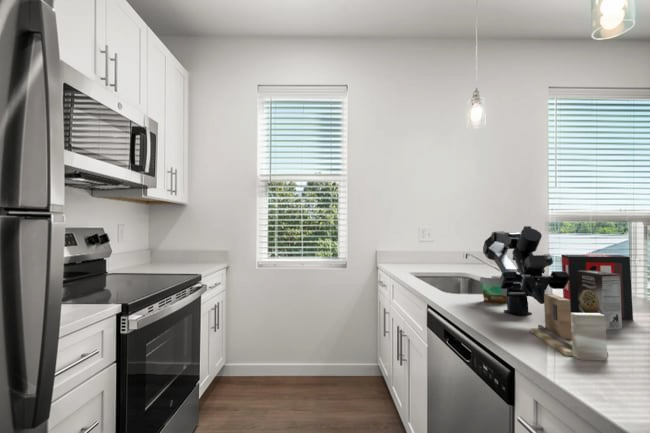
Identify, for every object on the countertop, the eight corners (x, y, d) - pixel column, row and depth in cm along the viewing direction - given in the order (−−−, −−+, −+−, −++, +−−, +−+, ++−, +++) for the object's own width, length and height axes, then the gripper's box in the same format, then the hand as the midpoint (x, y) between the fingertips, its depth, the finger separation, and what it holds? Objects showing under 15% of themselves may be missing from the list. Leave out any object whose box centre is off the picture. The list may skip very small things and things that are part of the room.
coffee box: (578, 322, 113) (575, 270, 113) (597, 321, 113) (594, 269, 114) (603, 330, 104) (600, 274, 104) (623, 329, 104) (620, 273, 105)
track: (531, 331, 104) (529, 296, 104) (565, 332, 102) (563, 297, 103) (571, 359, 82) (569, 315, 82) (614, 360, 81) (612, 315, 81)
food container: (484, 304, 142) (483, 278, 142) (480, 300, 148) (479, 276, 148) (517, 304, 140) (516, 278, 140) (512, 301, 146) (511, 276, 146)
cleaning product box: (571, 317, 119) (568, 256, 120) (564, 311, 127) (561, 254, 128) (633, 320, 113) (629, 256, 114) (620, 314, 122) (617, 254, 122)
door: (544, 329, 102) (542, 293, 102) (555, 329, 101) (553, 293, 102) (560, 339, 93) (558, 300, 93) (571, 339, 92) (570, 300, 93)
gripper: (500, 245, 113) (515, 286, 102) (565, 244, 110) (587, 286, 99) (493, 268, 121) (506, 308, 109) (554, 268, 118) (573, 309, 107)
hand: (542, 303), depth 106 cm, fingers closed
